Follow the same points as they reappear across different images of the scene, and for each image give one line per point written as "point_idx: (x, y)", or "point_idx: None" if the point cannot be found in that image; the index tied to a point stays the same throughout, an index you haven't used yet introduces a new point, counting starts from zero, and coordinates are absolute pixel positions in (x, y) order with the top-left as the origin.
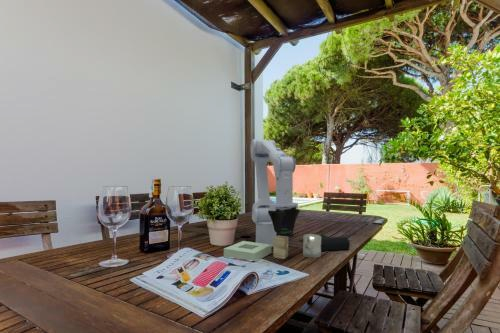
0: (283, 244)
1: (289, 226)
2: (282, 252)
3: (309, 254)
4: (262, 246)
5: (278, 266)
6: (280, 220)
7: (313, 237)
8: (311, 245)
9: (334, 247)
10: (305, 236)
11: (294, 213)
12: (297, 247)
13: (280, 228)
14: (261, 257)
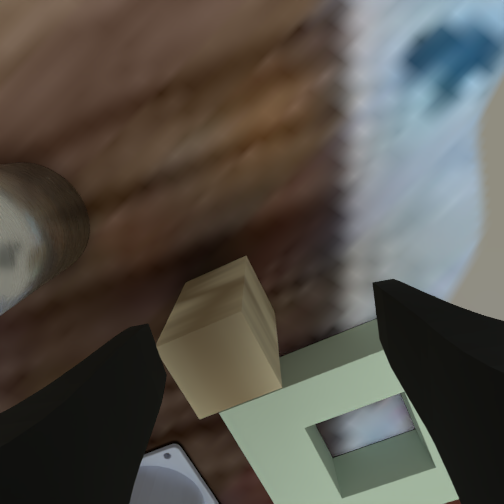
0: (245, 295)
1: (149, 377)
2: (249, 278)
3: (72, 198)
4: (298, 409)
5: (382, 163)
6: (501, 324)
7: None
8: (26, 199)
9: None
10: (5, 277)
11: (19, 470)
12: (5, 384)
13: (412, 287)
14: (347, 333)
